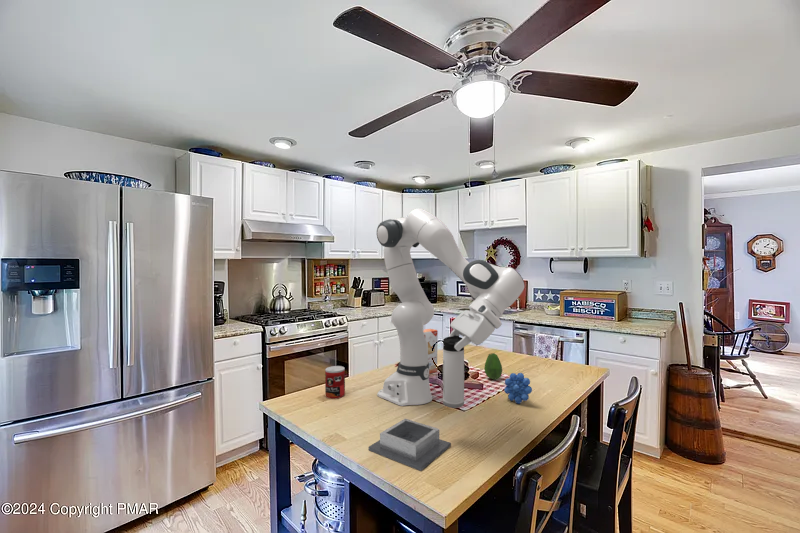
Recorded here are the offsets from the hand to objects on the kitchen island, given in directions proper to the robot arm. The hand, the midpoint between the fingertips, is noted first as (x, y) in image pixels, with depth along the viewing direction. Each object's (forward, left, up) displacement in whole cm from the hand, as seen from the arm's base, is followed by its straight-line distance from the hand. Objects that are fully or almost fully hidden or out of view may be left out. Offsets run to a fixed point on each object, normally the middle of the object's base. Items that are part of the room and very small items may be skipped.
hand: (451, 346), depth 110 cm
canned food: (-57, +7, -29) cm, 65 cm away
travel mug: (0, +1, -18) cm, 18 cm away
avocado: (-13, +64, -29) cm, 72 cm away
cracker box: (-44, +53, -29) cm, 75 cm away
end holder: (-8, -10, -29) cm, 32 cm away
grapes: (+6, +43, -29) cm, 52 cm away
